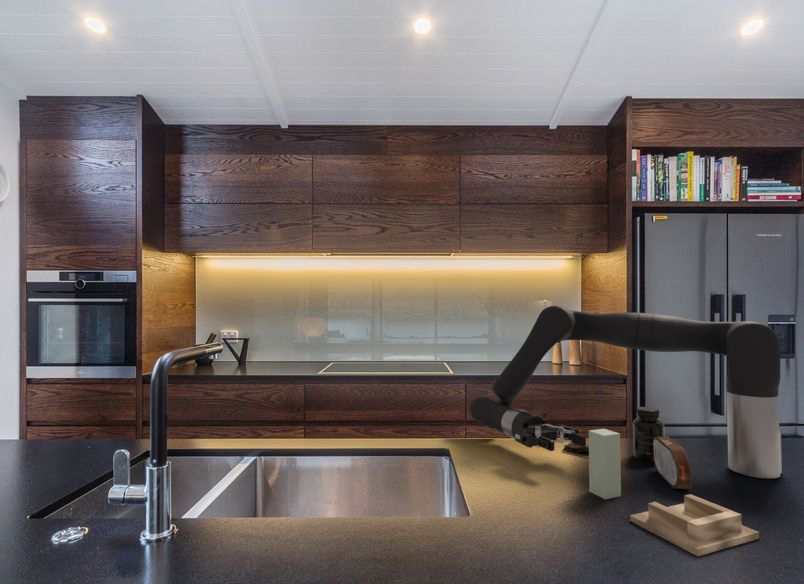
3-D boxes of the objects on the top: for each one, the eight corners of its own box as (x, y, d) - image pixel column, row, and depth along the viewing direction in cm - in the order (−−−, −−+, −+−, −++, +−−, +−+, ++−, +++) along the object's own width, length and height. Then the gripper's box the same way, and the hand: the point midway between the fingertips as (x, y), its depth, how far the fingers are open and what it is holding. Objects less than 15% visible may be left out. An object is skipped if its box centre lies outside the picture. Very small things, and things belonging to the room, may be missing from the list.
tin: (693, 496, 90) (692, 452, 90) (675, 495, 91) (675, 451, 91) (666, 469, 105) (665, 431, 105) (650, 468, 105) (650, 431, 106)
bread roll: (590, 462, 111) (590, 446, 111) (557, 453, 117) (557, 439, 118) (608, 452, 119) (608, 437, 119) (577, 444, 125) (577, 431, 125)
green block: (604, 488, 94) (604, 428, 94) (620, 496, 90) (620, 433, 90) (589, 491, 92) (588, 430, 92) (605, 499, 88) (604, 435, 89)
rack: (687, 507, 85) (687, 488, 85) (759, 538, 73) (758, 516, 74) (630, 521, 79) (630, 500, 79) (697, 556, 68) (697, 532, 68)
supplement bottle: (635, 452, 117) (635, 404, 117) (667, 457, 113) (666, 407, 113) (630, 459, 111) (630, 409, 111) (663, 465, 107) (662, 413, 107)
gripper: (498, 413, 113) (542, 429, 98) (546, 408, 118) (594, 423, 103) (499, 444, 113) (542, 465, 98) (546, 438, 118) (595, 457, 103)
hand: (569, 444), depth 100 cm, fingers open, 8 cm apart
